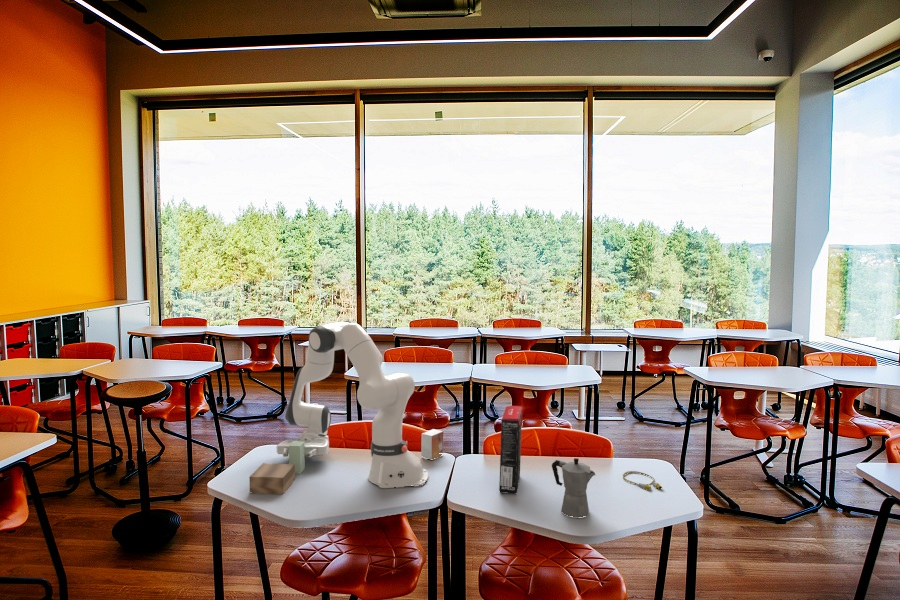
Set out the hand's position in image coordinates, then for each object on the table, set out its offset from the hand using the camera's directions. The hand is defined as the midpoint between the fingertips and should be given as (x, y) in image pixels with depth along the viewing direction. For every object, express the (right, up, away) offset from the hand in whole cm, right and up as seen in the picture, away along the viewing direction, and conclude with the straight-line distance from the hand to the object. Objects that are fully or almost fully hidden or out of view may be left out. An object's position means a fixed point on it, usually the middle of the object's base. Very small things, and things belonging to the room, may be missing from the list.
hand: (296, 455), depth 208 cm
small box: (+52, -6, +16) cm, 55 cm away
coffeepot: (+99, -10, -31) cm, 104 cm away
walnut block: (-5, -8, -13) cm, 16 cm away
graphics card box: (+81, -8, -11) cm, 82 cm away
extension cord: (+130, -8, -8) cm, 131 cm away
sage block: (0, -6, +1) cm, 7 cm away
